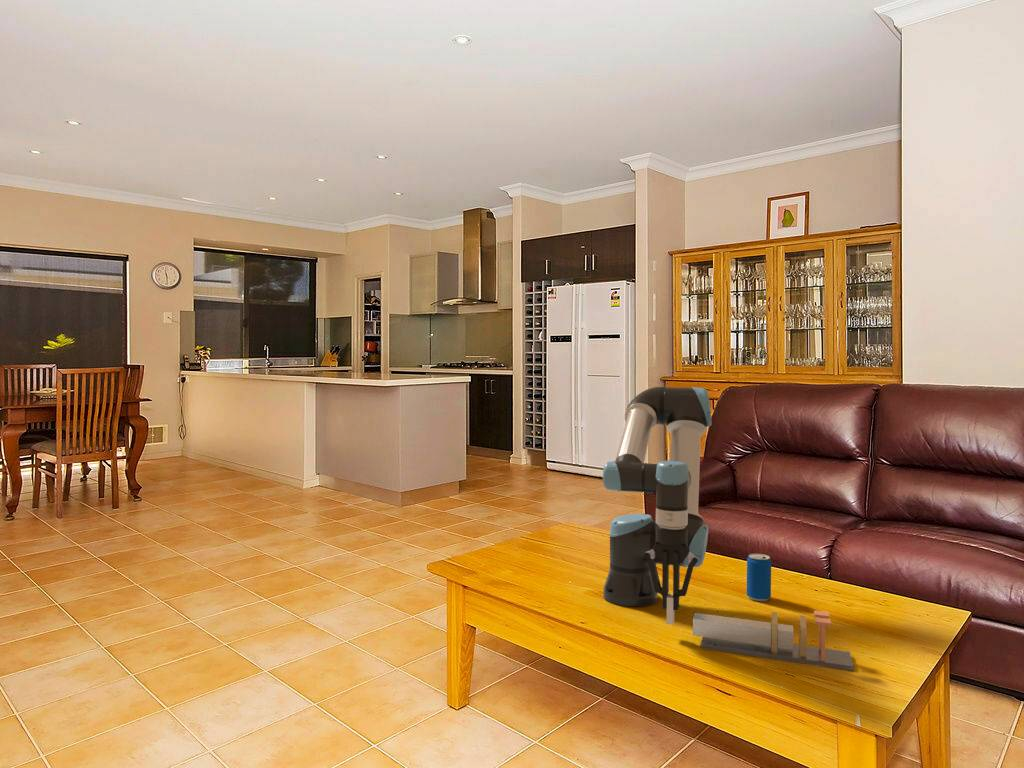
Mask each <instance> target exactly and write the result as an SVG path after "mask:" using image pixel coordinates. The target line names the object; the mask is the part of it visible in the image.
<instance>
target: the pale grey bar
mask: <svg viewBox="0 0 1024 768" xmlns="http://www.w3.org/2000/svg"><path fill="white" fill-rule="evenodd" d="M794 633H795V632H794V625H790V624H783V623H778V630H777V648H785V649H792V650H793V644H794V639H795V638H794V635H795V634H794ZM692 636H693V637H694V636H696V637H701V638H702V637H708V638H715V639H722V640H729V641H736V642H743V643H750V644H757V645H764V646H771V645H772V622H767V621H761V620H753V619H752V620H751V619H744V618H737V617H729V616H722V615H716V614H715V615H713V614H707V613H698V612H694V615H693V618H692Z"/></svg>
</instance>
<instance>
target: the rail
mask: <svg viewBox="0 0 1024 768" xmlns="http://www.w3.org/2000/svg"><path fill="white" fill-rule="evenodd" d="M771 623H772V645H771V646H764V645H757V644H750V643H743V642H736V641H729V640H722V639H715V638H708V637H701V642H700V649H703V650H710V651H717V652H725V653H732V654H737V655H744V656H752V657H757V658H764V659H771V660H776V661H783V662H791V663H798V664H804V665H811V666H817V667H824V668H829V669H830V668H832V669H836V670H837V669H838V670H844V671H850V672H851V671H852V672H853V671H854V668H855V667H854V663H853V660H852V656H851V652H850V651H846V650H841V649H833V648H826V647H825V661H821V650H819V646H811V645H807V639H808V638H807V633H808V632H807V630H808V629H807V620H806V616H805V615H799V624H798V625H799V627H798V628H799V629H798V630H799V631H798V644H796V643H793V650H792V649H785V648H777V630H778V624H779V623H778V612H776V611H771Z"/></svg>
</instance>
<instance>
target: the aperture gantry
mask: <svg viewBox="0 0 1024 768" xmlns="http://www.w3.org/2000/svg"><path fill="white" fill-rule="evenodd" d="M813 615H814V617H815V619H814V620H815V621H814V622H815V625H818V647H819V650H821V661H825V648H826V632H827V631H826V626H827V627H832V622H831V619H830V613H829V611H822V610H821V611H820V610H813Z"/></svg>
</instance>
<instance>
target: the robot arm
mask: <svg viewBox="0 0 1024 768" xmlns="http://www.w3.org/2000/svg"><path fill="white" fill-rule="evenodd" d="M624 421H625V425H624V428H623V431H622V436H621V439H620V443H619V446H618V449H617V453H616V456H615V459H614V460H612V461H606V462H605V463H604V465H603V469H602V483H603V487H604V488H605V489H606V490H607V491H608V490H609V491H618V492H632V493H650V494H655V496H656V497H655V500H656V502H655V503H656V504H655V520H653V517H652V515H651V514H645V513H631V514H629V513H628V514H624V515H623V514H622V515H619V516H617V517H615V518H614V519H612V520H611V522H610V528H609V533H608V534H609V570H608V573H607V577H606V580H605V583H604V585H603V589H602V590H603V591H602V592H603V593H602V594H603V598H604V600H605V601H607V602H609V603H611V604H615V605H618V606H625V607H646V606H651V605H653V604H655V603H656V602H658V594H659V595H660V596H661V597H662V599H661V600H662V601H661V605H662V606H661V607H662V610H666V625H669V626H670V625H671V626H674V623H675V612H676V611H678V610H679V608H680V598H681V597H685V596H686V595H687V592H688V589H689V585H690V581H691V578H692V574H693V571H694V568H699V567H701V566H702V565H703V563H704V561H705V556H706V552H707V545H708V537H709V536H708V535H709V525H708V524H705V523H704V518H703V516H702V515H700V513H699V496H700V495H699V493H700V469H701V468H700V466H701V465H700V464H701V441H702V440H701V438H702V436H703V435H705V434H706V432H707V428H709V427H711V426H712V423H713V422H712V413H711V404H710V396H709V391H708V390H707V388H704V387H694V386H691V387H681V386H680V387H679V386H678V387H677V386H654V387H650V388H647V389H645V390H643V391H641V392H640V393H639V394H636V396H634V397H633V398H632V399H631V400H630V402H629V403H628V404H627V407H626V408H625V413H624ZM656 425H663V426H666V430H667V432H668V433H669V434H670V435H671V436H670V448H669V449H670V451H669V460H663V461H659V462H657V463H648V462H645V459H646V455H647V450H648V446H649V441H650V437H651V432H652V429H653V428H654V427H655V426H656ZM657 565H662V566H661V567H662V572H661V573H662V574H661V575H662V576H661V577H662V581H660V576H659V572H658V568H657ZM670 566H672V572H673V573H672V574H673V575H672V577H673V578H672V579H673V580H672V584H673V586H672V593H669V591H670V589H669V587H670V585H669V583H670ZM681 567H683V568H687V569H686V572H685V576H684V580H683V583H682V587H680V579H681V578H680V570H681V569H680V568H681ZM680 588H681V589H680Z"/></svg>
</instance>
